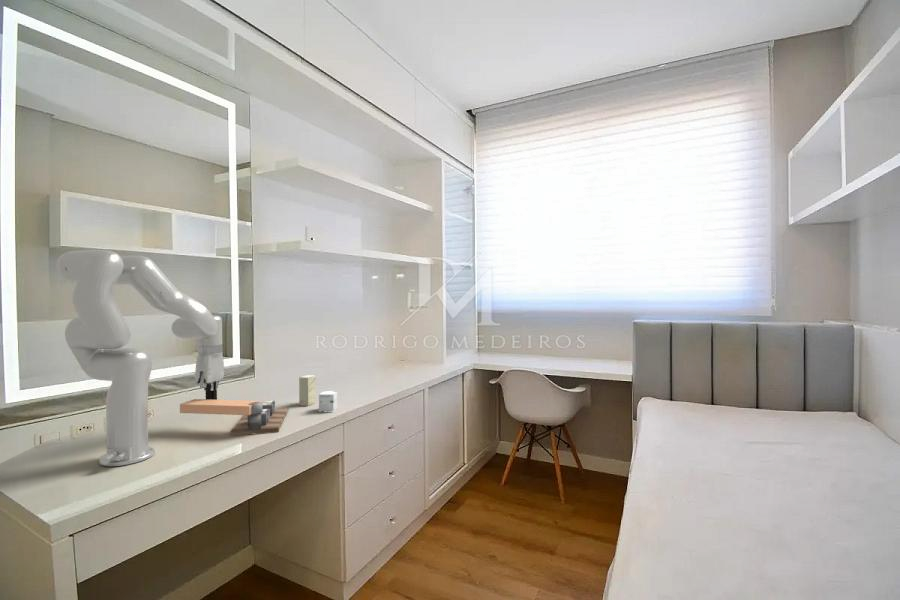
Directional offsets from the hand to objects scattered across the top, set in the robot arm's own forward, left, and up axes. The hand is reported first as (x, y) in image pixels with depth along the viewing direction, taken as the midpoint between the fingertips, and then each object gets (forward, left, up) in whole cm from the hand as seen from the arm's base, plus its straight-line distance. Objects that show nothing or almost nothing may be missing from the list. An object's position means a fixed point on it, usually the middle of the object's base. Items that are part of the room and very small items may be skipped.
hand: (211, 400), depth 148 cm
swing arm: (-8, -6, -2) cm, 10 cm away
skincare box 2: (+11, -40, -9) cm, 42 cm away
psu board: (0, -17, -9) cm, 19 cm away
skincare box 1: (+23, -31, -9) cm, 40 cm away
